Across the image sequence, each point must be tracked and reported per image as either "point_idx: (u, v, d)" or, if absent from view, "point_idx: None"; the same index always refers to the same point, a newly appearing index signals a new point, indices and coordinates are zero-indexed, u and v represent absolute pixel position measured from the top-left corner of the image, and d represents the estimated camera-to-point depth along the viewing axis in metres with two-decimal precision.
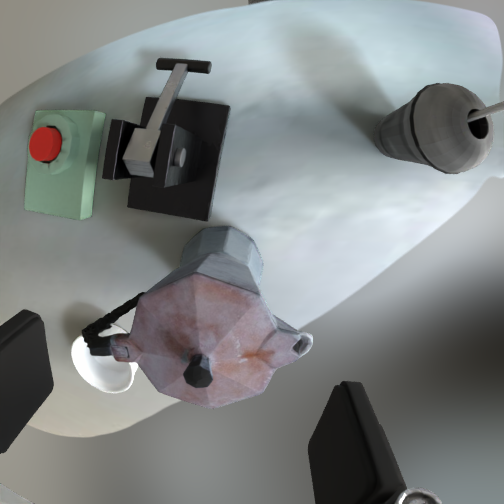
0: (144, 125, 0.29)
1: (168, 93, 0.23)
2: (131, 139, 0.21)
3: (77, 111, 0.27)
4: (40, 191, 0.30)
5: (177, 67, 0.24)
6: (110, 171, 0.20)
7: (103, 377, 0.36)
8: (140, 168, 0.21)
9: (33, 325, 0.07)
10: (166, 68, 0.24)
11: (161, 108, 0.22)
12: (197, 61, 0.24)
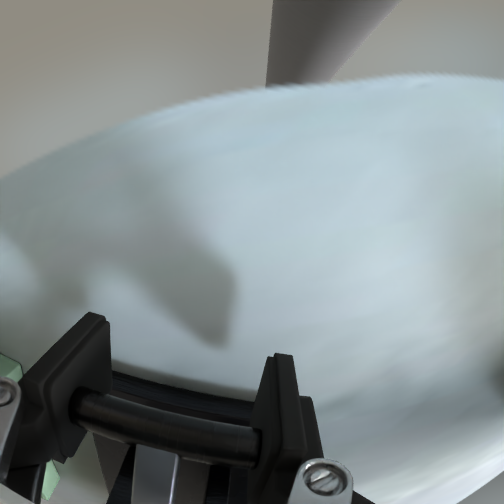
0: None
1: None
2: None
3: None
4: None
5: (145, 465, 0.06)
6: None
7: None
8: None
9: (102, 327, 0.08)
10: None
11: None
12: (212, 447, 0.06)
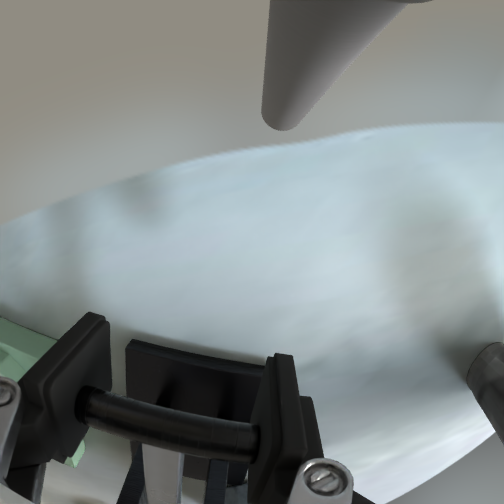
0: (133, 389, 0.17)
1: None
2: None
3: (21, 353, 0.16)
4: None
5: (152, 457, 0.07)
6: None
7: None
8: None
9: (102, 327, 0.08)
10: None
11: None
12: (211, 452, 0.07)
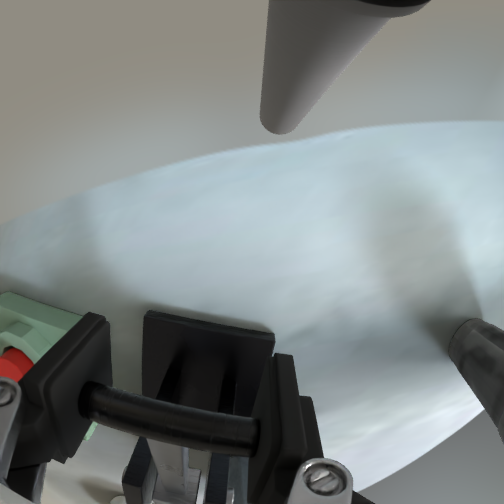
0: (149, 356, 0.21)
1: (172, 474, 0.09)
2: (156, 502, 0.12)
3: (46, 325, 0.19)
4: None
5: (157, 446, 0.08)
6: None
7: None
8: None
9: (103, 327, 0.08)
10: None
11: (173, 483, 0.10)
12: (212, 449, 0.07)
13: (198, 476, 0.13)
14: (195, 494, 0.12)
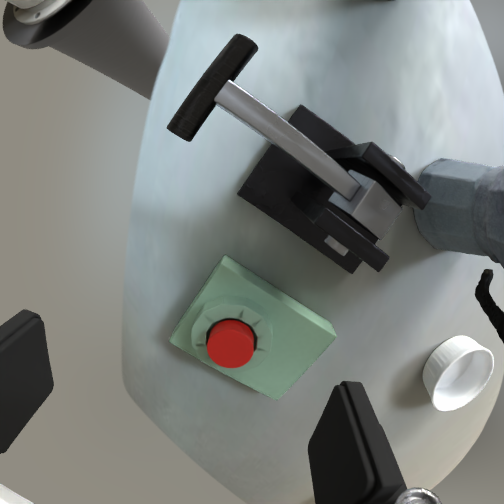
0: (273, 210, 0.25)
1: (295, 141, 0.13)
2: (365, 223, 0.15)
3: (207, 287, 0.25)
4: (272, 372, 0.28)
5: (229, 101, 0.12)
6: (378, 256, 0.15)
7: (467, 386, 0.29)
8: None
9: (33, 325, 0.07)
10: (204, 121, 0.12)
11: (321, 162, 0.14)
12: (232, 58, 0.11)
13: (353, 171, 0.16)
14: (365, 176, 0.15)
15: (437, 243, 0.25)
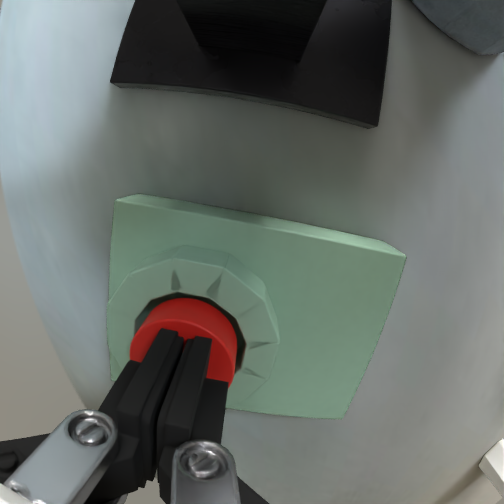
0: (176, 73, 0.11)
1: None
2: None
3: (113, 257, 0.12)
4: (311, 377, 0.13)
5: None
6: None
7: None
8: None
9: (180, 344, 0.09)
10: None
11: None
12: None
13: None
14: None
15: (478, 34, 0.09)
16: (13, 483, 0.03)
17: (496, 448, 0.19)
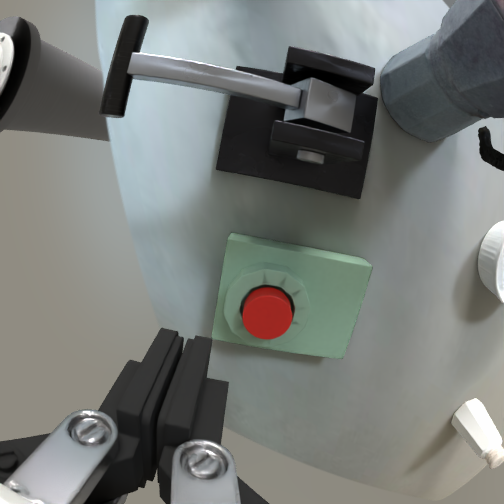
0: (255, 169, 0.24)
1: (215, 74, 0.12)
2: (323, 121, 0.14)
3: (224, 267, 0.25)
4: (324, 330, 0.26)
5: (140, 68, 0.11)
6: (352, 144, 0.14)
7: None
8: None
9: (180, 344, 0.09)
10: (128, 95, 0.12)
11: (251, 83, 0.13)
12: (128, 35, 0.11)
13: (293, 84, 0.15)
14: (302, 80, 0.14)
15: (427, 134, 0.22)
16: (13, 483, 0.03)
17: (463, 408, 0.31)
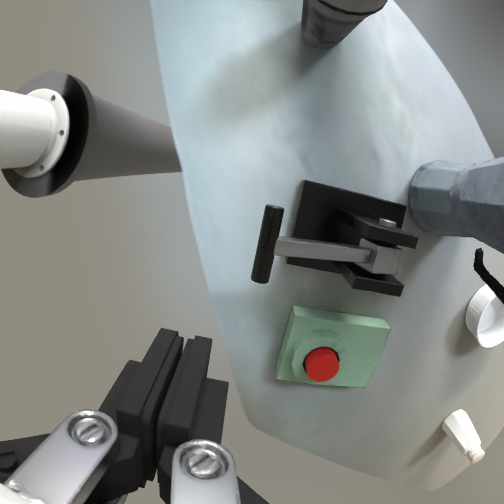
0: (315, 264, 0.34)
1: (325, 251, 0.21)
2: (382, 272, 0.23)
3: (291, 333, 0.34)
4: (355, 370, 0.35)
5: (282, 251, 0.20)
6: (397, 288, 0.23)
7: None
8: None
9: (180, 344, 0.09)
10: None
11: (344, 253, 0.22)
12: (273, 226, 0.19)
13: (364, 239, 0.24)
14: (372, 243, 0.23)
15: (439, 233, 0.31)
16: (13, 483, 0.03)
17: (451, 416, 0.41)
